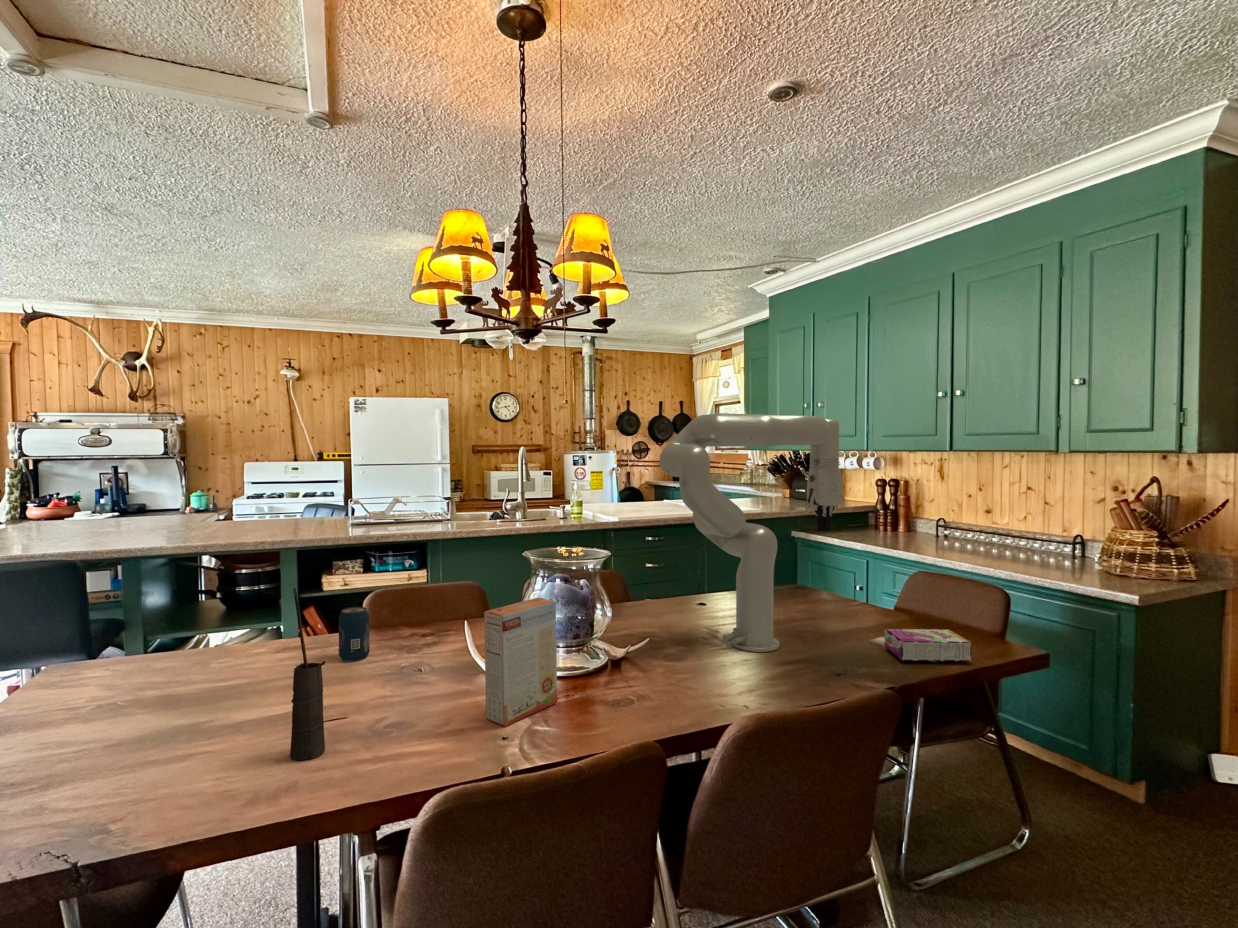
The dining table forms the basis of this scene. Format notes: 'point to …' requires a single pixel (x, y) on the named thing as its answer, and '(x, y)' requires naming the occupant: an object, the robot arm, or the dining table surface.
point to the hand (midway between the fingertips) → (823, 530)
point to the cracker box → (520, 660)
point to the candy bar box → (927, 645)
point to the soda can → (354, 634)
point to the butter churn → (307, 705)
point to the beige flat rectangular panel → (880, 642)
